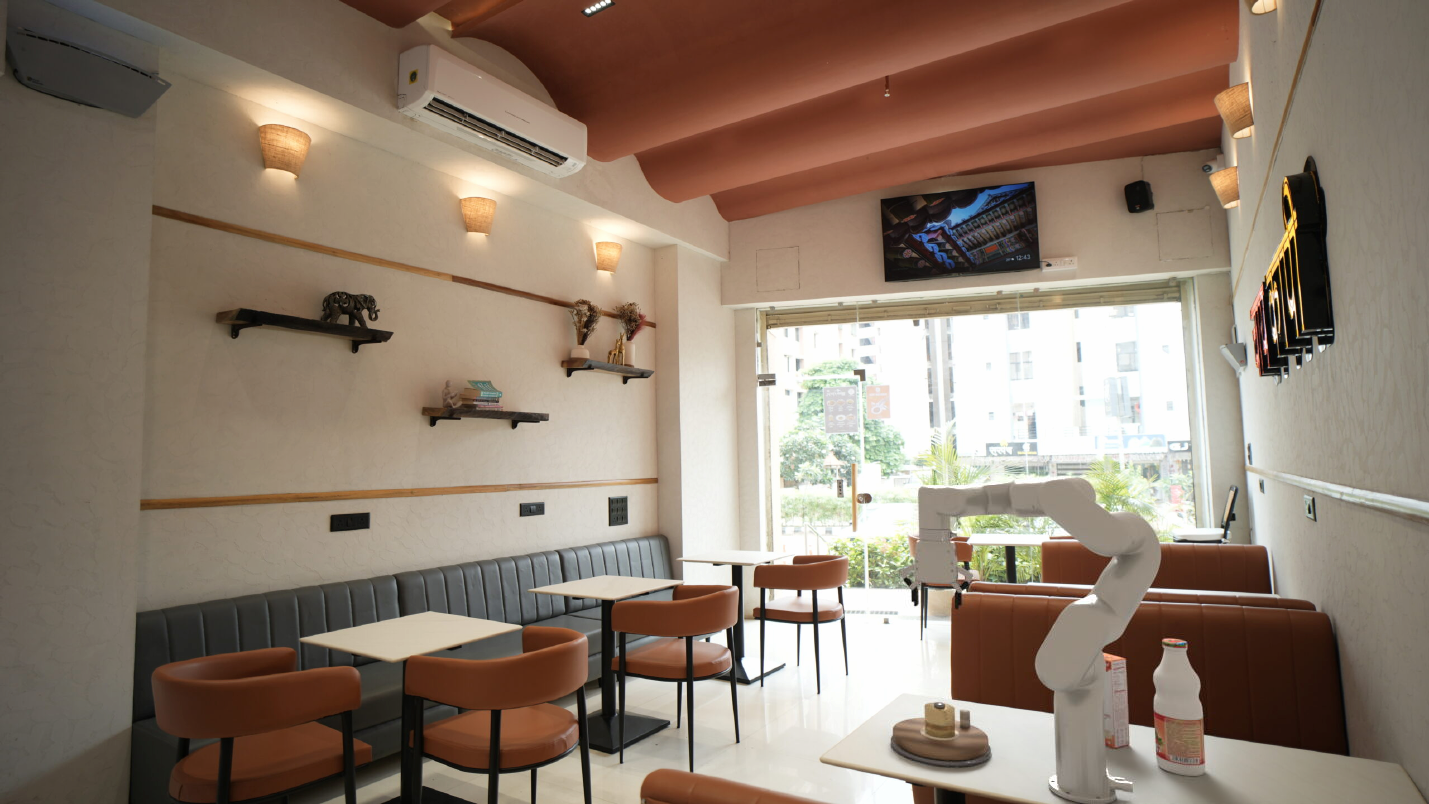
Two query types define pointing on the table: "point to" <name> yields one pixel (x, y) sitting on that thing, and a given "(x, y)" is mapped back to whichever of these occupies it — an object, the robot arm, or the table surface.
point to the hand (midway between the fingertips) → (936, 606)
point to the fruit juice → (1178, 713)
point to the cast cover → (939, 720)
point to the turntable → (941, 740)
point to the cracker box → (1116, 702)
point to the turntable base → (941, 762)
